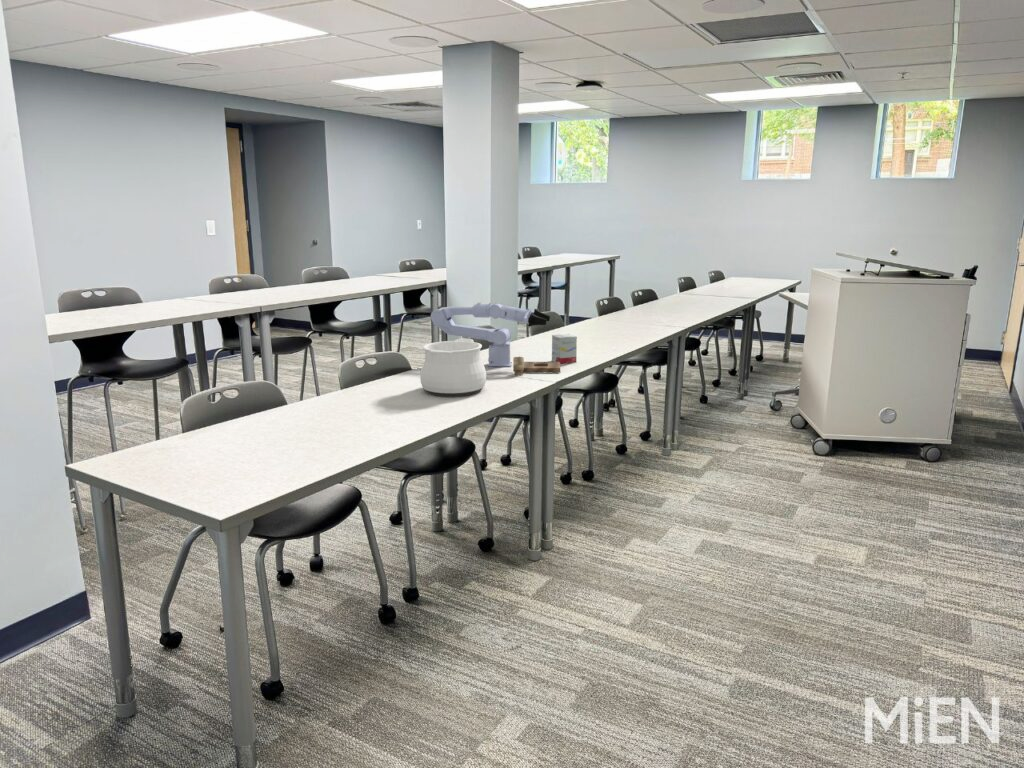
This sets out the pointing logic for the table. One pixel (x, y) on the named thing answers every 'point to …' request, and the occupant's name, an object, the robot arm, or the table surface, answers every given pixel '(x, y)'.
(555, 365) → the board
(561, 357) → the ink box
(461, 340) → the pot
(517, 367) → the peg
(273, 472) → the table surface
